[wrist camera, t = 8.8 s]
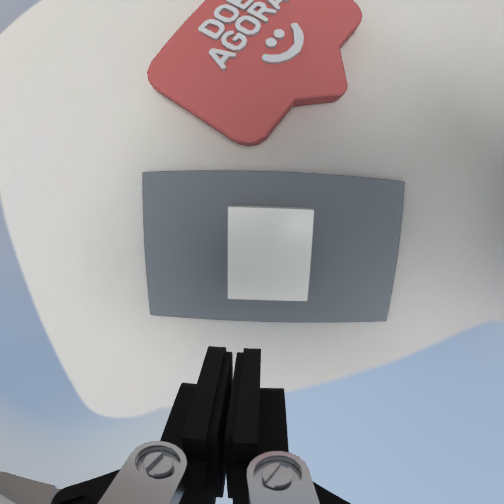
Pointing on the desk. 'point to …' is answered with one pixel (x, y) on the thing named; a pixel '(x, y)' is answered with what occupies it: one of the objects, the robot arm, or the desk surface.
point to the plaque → (255, 61)
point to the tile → (269, 252)
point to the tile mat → (271, 194)
